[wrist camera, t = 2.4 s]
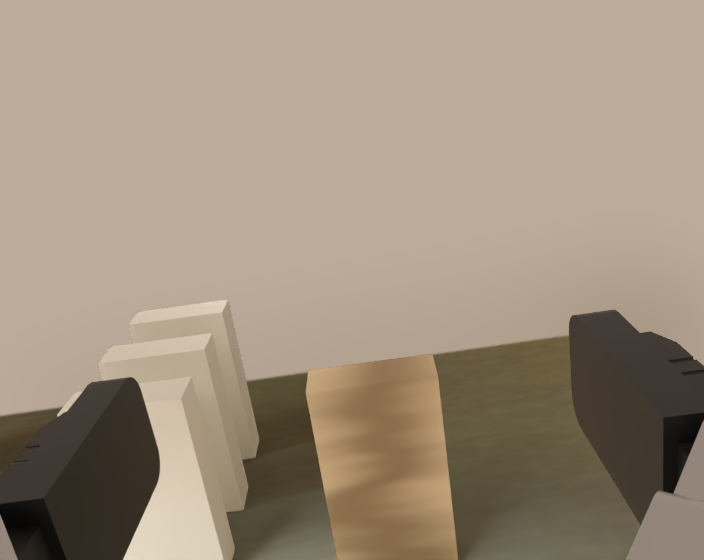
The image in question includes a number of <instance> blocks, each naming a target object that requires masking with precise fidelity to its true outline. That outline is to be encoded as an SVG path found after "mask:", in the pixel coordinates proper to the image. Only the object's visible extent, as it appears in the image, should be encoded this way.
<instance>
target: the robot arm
mask: <svg viewBox="0 0 704 560" xmlns="http://www.w3.org/2000/svg"><path fill="white" fill-rule="evenodd" d="M569 341H570V361H571V382H572V398H573V404H574V409H575V413H576V416H577V419H578V422H579V425H580V427H581V429H582V430H583V432H584V434H585V435H586V437H587V439H588V440H589V442H590V443H591V445H592V447H593V448H594V450H595V451H596V453H597V455H598V456H599V458H600V460H601V461H602V463H603V464H604V466H605V468H606V469H607V471H608V473H609V474H610V476H611V477H612V479H613V481H614V482H615V484H616V486H617V487H618V489H619V490H620V492H621V494H622V495H623V497H624V499H625V500H626V502H627V503H628V505H629V507H630V508H631V510H632V512H633V513H634V515H635V516H636V518H637V520H638V521H639V523H640V525H641V526H640V528H639V531H638V533H637V535H636V537H635V540H634V542H633V544H632V546H631V549H630V551H629V553H628V555H627V558H626V560H704V366H703V365H702V364H701V363H699V362H698V361H697V360H694V359H693V356H691V355H690V354H689V353H688V352H687V351H686V350H685V349H683V348H682V347H681V346H680V345H679V344H678V343H677V342H674V341H672V340H670V339H667V338H665V337H662V336H660V335H657V334H655V333H653V332H645V333H639V332H638V331H637V330H636V329H635V328H634V327H633V326H632V325H631V324H630V323H629V322H628V321H627V320H626V319H625V318H624V317H623V316H622V315H621V314H620V313H619V312H617V311H616V310H608V311H602V312H594V313H587V314H580V315H574V316H572V317H571V318H570V322H569ZM159 474H160V456H159V450H158V446H157V443H156V439H155V436H154V433H153V429H152V426H151V422H150V419H149V416H148V412H147V409H146V405H145V402H144V398H143V395H142V392H141V389H140V386H139V384H138V382H137V381H136V380H135V379H134V378H133V377H127V378H120V379H112V380H105V381H98V382H92V383H90V384H89V385H88V386H87V387H86V388H85V390H84V391H83V392H82V393H81V395H80V396H79V397H78V398H77V400H76V401H75V402H74V403H73V405H72V406H71V407H70V408H69V410H68V411H67V412H64V413H63V414H61V415H60V416H58V417H57V418H56V419H54V420H53V421H51V422H50V423H49V424H47V425H46V426H44V427H43V428H42V429H40V431H39V432H38V433H37V434H36V435H35V437H34V438H33V439H32V440H31V441H30V443H29V444H28V445H27V446H26V450H23V451H22V452H21V454H20V455H19V456H18V457H17V458H16V460H15V461H14V465H12V466H10V467H9V468H8V469H7V470H6V472H5V473H4V474H3V475H2V476H1V478H0V560H123V559H124V556H125V554H126V552H127V550H128V547H129V545H130V543H131V541H132V539H133V536H134V534H135V532H136V530H137V528H138V525H139V523H140V521H141V519H142V516H143V514H144V512H145V510H146V508H147V505H148V503H149V501H150V499H151V496H152V494H153V492H154V490H155V488H156V485H157V483H158V479H159Z"/></svg>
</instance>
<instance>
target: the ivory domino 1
mask: <svg viewBox="0 0 704 560" xmlns="http://www.w3.org/2000/svg"><path fill="white" fill-rule="evenodd" d="M128 327H129V330H130V334H131V337H132V341H133V344H134V343H141V342H149V341H156V340H164V339H171V338H179V337H186V336H194V335H201V334H209V333H212V334H213V338H214V343H215V347H216V351H217V355H218V360H219V364H220V368H221V372H222V377H223V381H224V385H225V389H226V394H227V398H228V402H229V406H230V410H231V415H232V419H233V423H234V427H235V432H236V436H237V440H238V444H239V449H240V453H241V457H242V460H243V459H251V458H255V457H256V453H257V448H258V444H259V436H258V431H257V427H256V422H255V418H254V413H253V409H252V404H251V400H250V395H249V391H248V387H247V382H246V378H245V374H244V369H243V364H242V360H241V355H240V351H239V346H238V342H237V338H236V333H235V328H234V324H233V319H232V315H231V310H230V306H229V301H228V300H221V301H214V302H206V303H199V304H192V305H185V306H178V307H170V308H163V309H155V310H148V311H140V312H138V313H137V314H136V316H135V317H134V318H133V320H132V321H131V322H130V323H129V324H128Z"/></svg>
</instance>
